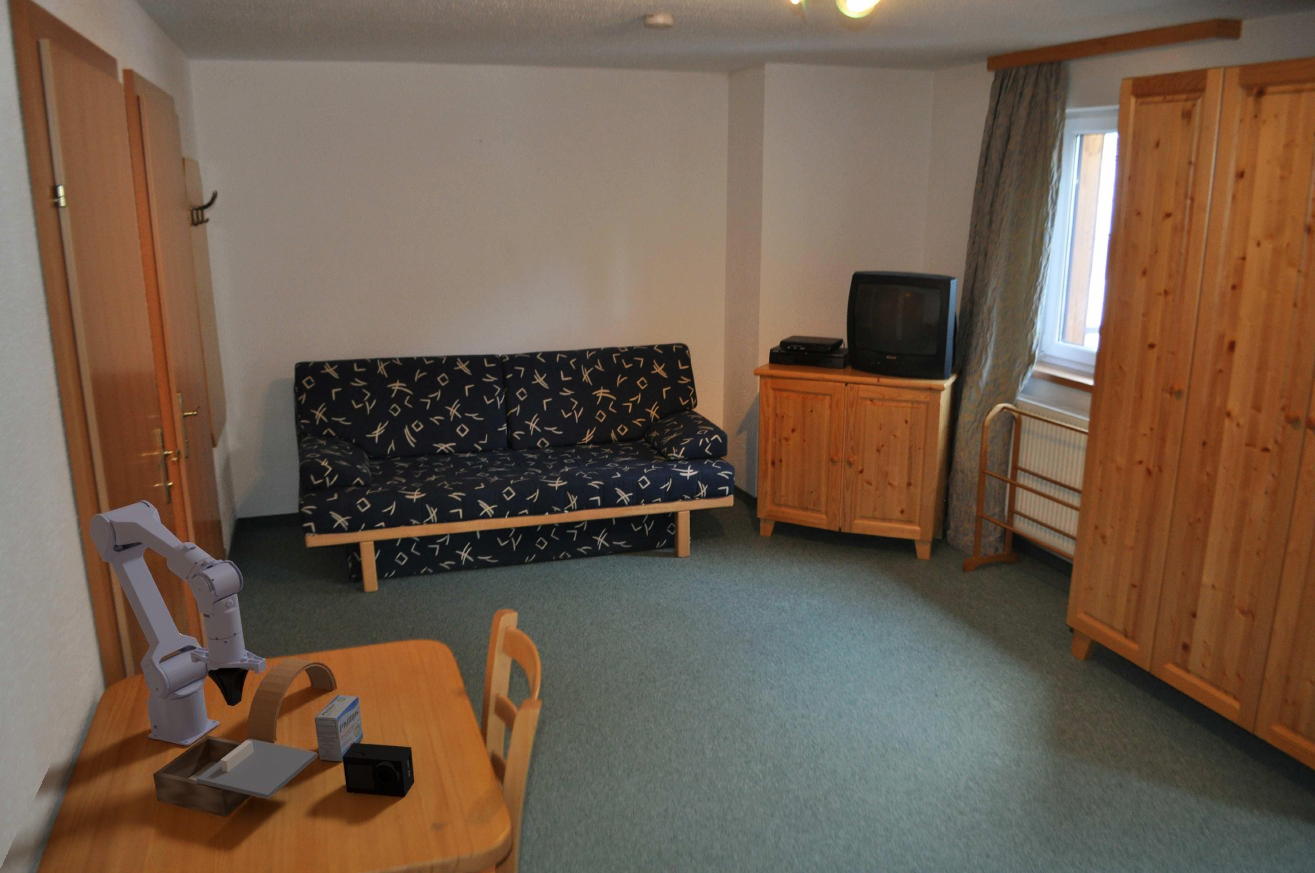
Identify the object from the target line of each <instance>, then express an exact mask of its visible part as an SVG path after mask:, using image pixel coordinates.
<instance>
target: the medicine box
mask: <svg viewBox="0 0 1315 873" xmlns="http://www.w3.org/2000/svg"><path fill="white" fill-rule="evenodd" d="M361 715H362V714H361V706H360V698H359V697H358V696H352V695H345V694H344V695H343V694H338V695H336V696H335V697H334V698H333V699H332V700H331V701H330V702H329V703H328V704H327V705H326V706H325V707H324V708H323V709H322V710H321V711H320V712H319V713H318V714H317V715H316V716H314V723H315V724H314V725H315V732H316V741H317V747H318V755H319V760H321V761H329V762H330V761H331V762H341V763H343V755H344V754H345V753H346V752H347V750H348V749H349V748H350V747H351V745H352V744H353V743H360V742H361V741H362V740H363V738H364V733H363V732H364V731H363V725H362V716H361Z"/></svg>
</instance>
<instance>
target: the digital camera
mask: <svg viewBox="0 0 1315 873" xmlns="http://www.w3.org/2000/svg"><path fill="white" fill-rule="evenodd" d="M412 750H413V749H412V746H404V745H403V746H401V745H389V744H376V743H362V742H361V743H360V742H359V743H353V744H352V745H351V747H350V748H349V749H348V750H347V752H346V753H345V754H344V755H343V761H342V763H343V765H342V766H343V771H344V772H343V773H344V774H343V775H344V780H345V790H346V793H349V794H357V795H358V794H359V795H372V796H381V797H396V798H405V797H406V796H407V795H408V793H409V791H410V790H411V789H412V787H413V785H414V784H415V774H414V772H415V771H414V762H413V751H412Z"/></svg>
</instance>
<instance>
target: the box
mask: <svg viewBox="0 0 1315 873" xmlns="http://www.w3.org/2000/svg"><path fill="white" fill-rule="evenodd" d="M242 743H243V742H241V741H236V740H233V739H232V740H231V739H226V738H222V737H218V736H213V735H208V734H206V736H205V737H202V739H200V740H199V741H198V742H195V744H194V745H193V744H192V746H190V747H189V748H188V749H186V750H185V751H184V752H182V753H180V754H179V755H178V756H176V757H175V758H174V759H172V760H171V761H169V762H168V763H167V764H165V765H164V766H162V767H161V768H160V769H159V770H157V771H156V772H154V773H153V774H152V776H153V781H154V788H155V789H154V790H155V793H156V800H157V802H162V803H164V804H165V803H166V804H170V805H174V806H178V807H182V808H187V809H190V810H194V811H198V812H202V813H203V812H204V813H207V814H212V815H215V816H219V817H223V818H227V817H228V816H229V815H230V814H232V813H233V812H234V811H235V810H236V809H237V808H239V807H240V806H241V805H242V804H244V802H246V801H247V800H248V799H249V798H250V797H252V795H248V794H243V793H239V792H235V791H230V790H226V789H222V788H217V787H213V786H208V785H204V784H200V783H197V779H196V778H198V777H199V776H200V775H202V774H203V773H204V772H206V771H207V770H208V769H210V768H211V767H212V766H214V765H215V764H216V763H217V762H219V761H220V760H221V759H222V758H224V757H225V756H226V755H227V754H229V753H230V752H231V751H233V750H234V749H235V748H237V747H238V746H239V745H241V744H242Z"/></svg>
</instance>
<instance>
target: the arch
mask: <svg viewBox="0 0 1315 873" xmlns="http://www.w3.org/2000/svg"><path fill="white" fill-rule="evenodd" d="M304 671H305V673H306V675H307V676H308V680H309V682H310V683H309V684H310V688H314V689H317V690H318V689H319V690H325V691H326V690H327V691H333V692H334V691H336V690H337V689H338V685H337V680H336V676H335V675H334V673H333V670H332V669H331V667H329V666H328V664H326V663H324V662H321V661H316V660H308V659H302V658H301V659H300V658H287V659H283V660H281V661H279V662H277V663H276V664H275V665H273V666H272V667H271V668H270V670H268V672H266V674H265V675H264V677H263V678H262V680H261V681H260V683H259V685H258V687H257V689H256V691H255V692H254V693H255V694H254V695H253V697H252V701H251V704H250V707H249V713H248V718H247V720H248V721H247V740H248V739H254V740H258V741H263V742H268V743H273V744H275V742H276V741H278V739H277V725H278V719H279V713H280V710H281V706H282V703H283V700H284V698H285V696H286V693H287V692H288V689H289V687H290V686H291V685H292V683H293V681H294V680H295V679H297V677H298V676H299V675H300V674H301V673H302V672H304Z"/></svg>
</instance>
